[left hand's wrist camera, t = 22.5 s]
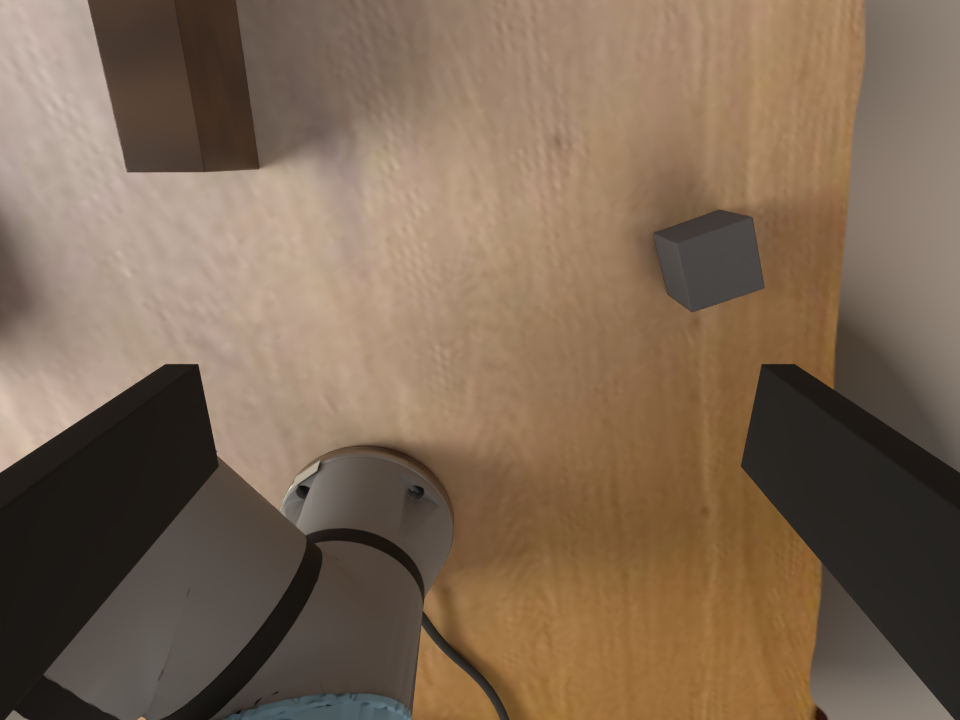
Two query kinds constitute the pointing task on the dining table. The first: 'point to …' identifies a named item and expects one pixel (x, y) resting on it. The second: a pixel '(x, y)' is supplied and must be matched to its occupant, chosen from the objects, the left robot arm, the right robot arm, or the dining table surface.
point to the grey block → (710, 259)
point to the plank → (176, 84)
